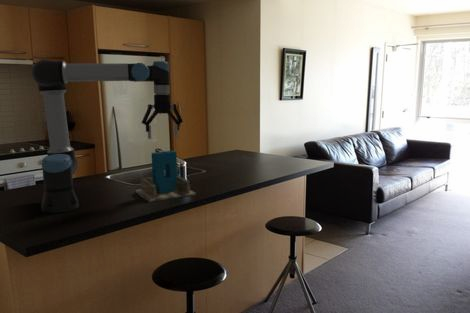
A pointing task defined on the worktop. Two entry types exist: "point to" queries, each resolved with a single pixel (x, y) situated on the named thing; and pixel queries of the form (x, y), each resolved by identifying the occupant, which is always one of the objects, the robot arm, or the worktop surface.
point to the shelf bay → (151, 195)
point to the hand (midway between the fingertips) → (163, 137)
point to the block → (170, 178)
